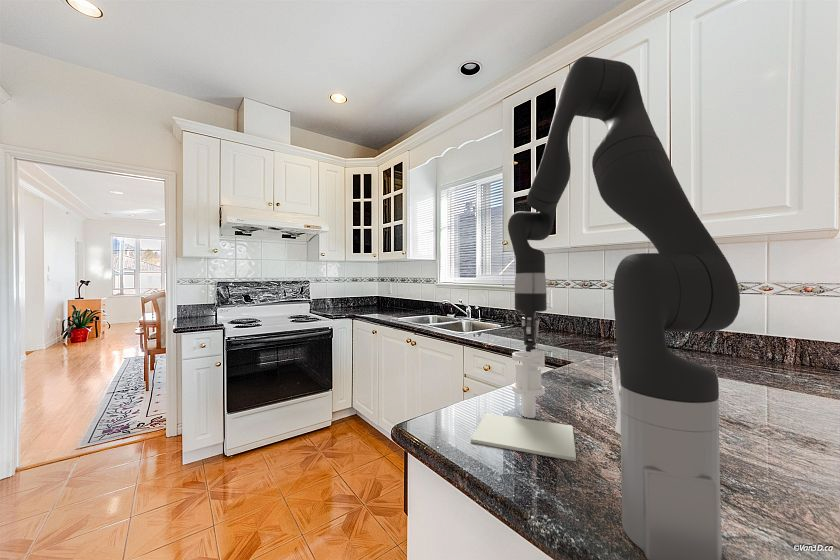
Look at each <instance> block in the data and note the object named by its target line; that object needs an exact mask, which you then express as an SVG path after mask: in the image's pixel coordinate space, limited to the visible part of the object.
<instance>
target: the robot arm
mask: <svg viewBox="0 0 840 560" xmlns="http://www.w3.org/2000/svg"><path fill="white" fill-rule="evenodd" d="M575 117H583V118H589V119H596V120H600V121H601V122H603V123H604V125H605V126H606V128H607V132H606V133H605V134H604V135H603V137H602V138H601V139H600V141H599V143H598V144H597V146H596V148H595V150H594V153H593V156H592V161H591V163H592V166H591V167H592V172H593V175H594V179H595V183H596V186H597V188H598V189H597V190H598V193H599V196H600V197H601V199H602V201H604V203H605V204H606V205H607V207H609V208H610V209H611V210H612V211H613V212H614V213H615V214H617V215H618V216H619V217H621V218H622V219H623V220H624V221H625V222H627V223H628V224H630V225H632V226H633V227H634V228H636V229H637V230H638V231H640V233H642V234H643V235H644V236H645V237H646V238H647V239H648V240H649V241H650V242H651V244H653V246H654V247H655V249H656V251H657V252H651V253H650V252H649V253H648V252H646V253H645V252H644V253H634V254H629V255H627V256H625V257H624V258H623V259H621V261H619V263H618V265H617V267H616V270H615V273H614V276H613V277H614V278H613V286H612V287H613V289H612V291H613V292H612V293H613V310H614V320H615V321H614V322H615V324H614V325H615V336H616V337H615V338H616V342H615V343H616V355H617V357H618V363H619V368H620V393H621V435H620V463H621V464H620V468H621V469H620V470H621V471H620V472H621V473H620V476H621V483H620V485H621V491H620V492H621V525H622V528H623V531H624V533H625V534H626V536H627V537H628V538H629V540H631V542H633V544H635V545H636V546H637V547H638V548H639V549H640V550H641V551H643V554H644V556H645V558H646V559H647V560H722V559H723V553H722V552H723V551H722V550H723V549H722V544H723V543H722V541H723V540H722V511H721V507H722V505H721V502H722V501H721V464H720V462H721V461H720V460H721V459H720V453H721V452H720V451H721V450H720V408H719V407H720V401H719V399H720V396H719V395H720V392H719V391H720V390H719V389H720V387H719V385H720V384H719V378H718V375H717V373H716V372H715V371H714V370H713V369H712V368H709V367H707V366H705V365H702V364H699V363H697V362H695V361H690V360H687V359H684V358H682V357H680V356H678V355H676V354H675V353H674V352H672V351H671V350H670V349H669V347H668V344H667V341H666V340H667V339H666V333H665V332H669V333H670V332H675V333H676V332H677V333H679V332H681V333H687V332H688V333H705V332H716V331H721V330H724V329H727V328H728V327H729V326H731V325H732V324H733V323H734V322H735V320H736V318H737V316H738V314H739V311H740V306H741V294H740V290H739V284H738V281H737V277H736V275H735V272H734V271H733V269H732V267H731V264H730V263H729V261H728V259H727V257H725V255H724V254H723V252H722V250H721V249H720V246H718V244H717V243H716V241H715V240H714V238H713V237H712V235H711V234H710V233H709V231H708V229H707V228H706V227H705V225H704V224H703V222H702V220H701V219H700V218H699V216H698V214H697V213H696V211H695V209H694V208H693V206H692V204H691V203H690V201H689V199H688V197H687V195H686V193H685V191H684V189H683V187H682V185H681V184H680V181H679V180H678V178H677V176H676V175H677V174H675V172H674V169H673V166H672V164H671V161H670V158H669V156H668V153H667V152H666V150H665V147H664V145H663V143H662V142H661V140H660V138H659V136H658V135H657V132H656V131H655V129H654V126H653V124H652V121H651V120H650V117H649V114H648V112H647V109H646V107H645V103H644V100H643V96H642V93H641V88H640V85H639V82H638V77H637V75H636V72H635V70H634V69H633V67H632V66H631V65H630V64H628V63H626V62H623V61H619V60H612V59H606V58H601V57H595V56H587V55H586V56H581V57H579V58H578V59H577V60H575V62H574V63H573V64H572V65H571V67H570V68H569V70H568V72H567V74H566V76H565V78H564V80H563V83H562V86H561V89H560V91H559V95H558V99H557V103H556V106H555V109H554V113H553V116H552V121H551V124H550V128H549V132H548V135H547V139H546V143H545V147H544V150H543V154H542V156H541V157H542V158H541V160H540V163H539V166H538V169H537V171H536V173H535V177H534V178H533V182H532V184H531V186H530V188H529V191H528V193H527V197H526V202H527V203H526V204H527V205H528V206H529V207H530V208H532V209H534V210H535V211H516V212H514V213H512V214H511V216H510V218H509V219H508V222H507V223H508V224H507V231H508V235H509V239H510V242H511V245H512V250H513V253H514V258H515V276H514V310H515V311H517V312H523V313H524V317H522V318H521V326H522V337H523V345H524V347H525V352H531V350H533V349H535V350H537V348H536V347H537V345H538V343H537V342H538V336H539V325H540V318H538V317H537V312H538V313H539V312H546V311H547V309H548V308H547V302H548V301H547V277H546V256H545V255H546V254H545V252H544V251H543V250H541V249H538V248H533V247H532V246H531V245H530V243H529V241H544V240H545V239H546V238H548V237H549V236H550V235H551V233H552V231H553V228H554V221H555V216H556V210H557V207H558V204H559V202H560V201H561V198H562V196H563V194H564V192H565V190H566V188H567V186H568V183H569V180H570V178H571V177H570V176H571V157H570V151H569V140H568V139H569V131H570V128H571V126H572V123H573V120H574V118H575Z"/></svg>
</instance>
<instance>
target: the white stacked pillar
mask: <svg viewBox="0 0 840 560" xmlns="http://www.w3.org/2000/svg"><path fill="white" fill-rule="evenodd" d="M545 356H546V355H545V350H539V349H536V350H535V349H533V350H531V352H526V351H514V352H512V353H511V358H512V360H513V361H516V364H515V382H514V383H512V385H511V386H512V387H511V388H512V392H513V393H515V394H519V395H521V396H520V397H521V414H522V415H521V417H523V416H524V418H526V417H527V418H526V419H534V418H536V417H535V416H537V415H536V402H537V401H536V397H538V396H543V395H545V393H546V392H545V391H546V389H545V386H544V385H542V369H541V368H545V364H546V363H545V361H546V360H545V358H546V357H545ZM519 362H520V363H519Z"/></svg>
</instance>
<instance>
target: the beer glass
mask: <svg viewBox="0 0 840 560" xmlns="http://www.w3.org/2000/svg"><path fill="white" fill-rule="evenodd" d="M611 365H612V368H611V369H612V370H611V382H612V383H611V384H612V391H613V397H614V400H615V406H616V421H615V427H614V431H615V433H616V434H618V435H619V436H621V393H620V368H619V363H618V357H617V354H616V355H613V356H612V364H611Z"/></svg>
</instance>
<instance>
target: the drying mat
mask: <svg viewBox="0 0 840 560" xmlns="http://www.w3.org/2000/svg"><path fill="white" fill-rule="evenodd" d="M472 434H473V435H472V436H471V437H470V443H473V444H479V445H483V446H491V447H495V448H499V449H500V448H501V449H506V450H513V451H515V452H516V451H517V452H523V453H527V454H534V455H540V456H544V457H550V458H556V459H561V460H567V461H573V462H577V454H576V446H575V445H576V444H575V436H574V427H573V425H569V424H563V423H558V422H557V423H556V422H550V421H542V420H535V419H531V418H522V417H514V416H507V415H500V414H496V413H495V414H494V413H487V412H486V413H484V415H483V416H482V418H481V421H480V423H479V424H478V426H477V427H476V429H475V430H474V433H472Z"/></svg>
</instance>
